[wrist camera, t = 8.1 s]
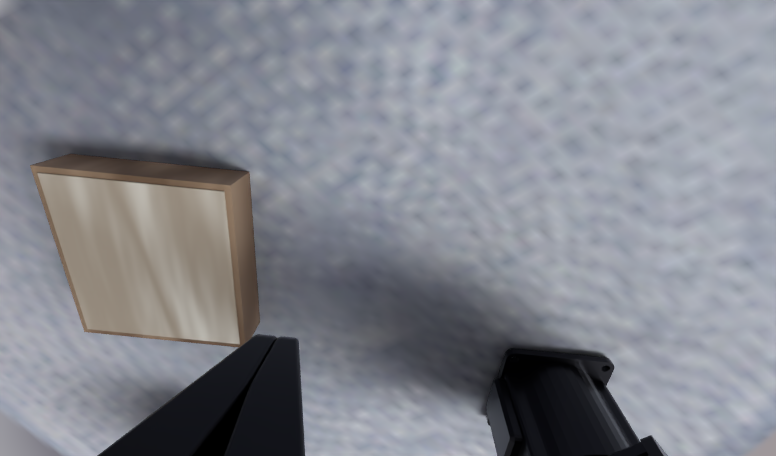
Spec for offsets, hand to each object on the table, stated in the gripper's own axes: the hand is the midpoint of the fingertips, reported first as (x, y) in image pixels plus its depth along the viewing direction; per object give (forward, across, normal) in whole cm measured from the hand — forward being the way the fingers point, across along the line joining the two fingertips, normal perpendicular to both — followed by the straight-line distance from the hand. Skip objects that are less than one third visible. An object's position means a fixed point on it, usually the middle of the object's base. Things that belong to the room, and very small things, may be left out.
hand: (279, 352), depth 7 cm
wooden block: (+11, +5, +5) cm, 13 cm away
